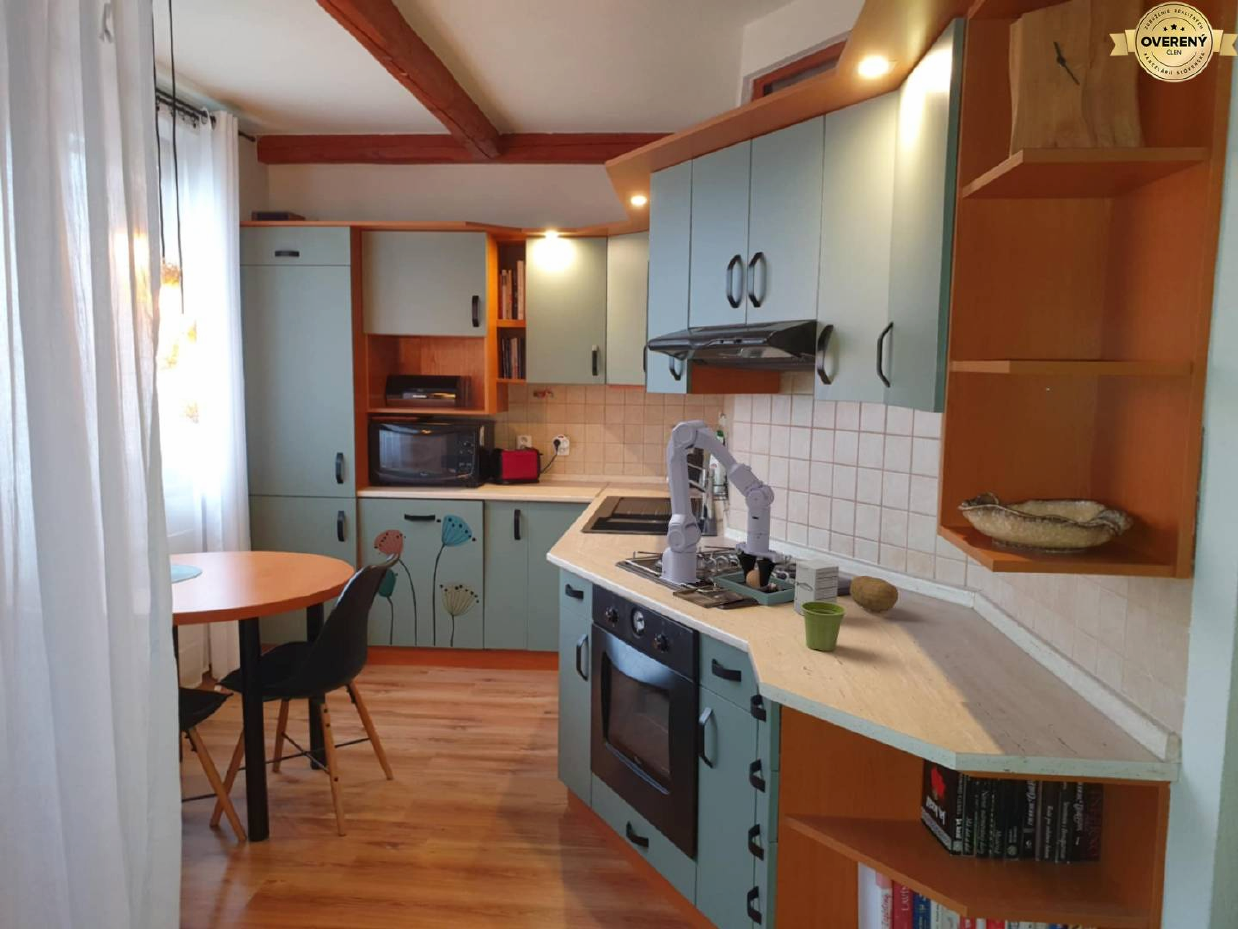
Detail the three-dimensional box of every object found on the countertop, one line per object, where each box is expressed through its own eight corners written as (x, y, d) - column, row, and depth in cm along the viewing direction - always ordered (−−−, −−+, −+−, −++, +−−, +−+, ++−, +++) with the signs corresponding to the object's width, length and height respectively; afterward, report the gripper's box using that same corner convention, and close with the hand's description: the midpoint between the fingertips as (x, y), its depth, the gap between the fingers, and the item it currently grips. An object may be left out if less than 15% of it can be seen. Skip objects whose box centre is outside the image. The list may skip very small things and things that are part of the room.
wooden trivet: (672, 596, 211) (672, 592, 210) (709, 589, 218) (709, 585, 218) (705, 609, 200) (705, 604, 200) (743, 601, 208) (743, 597, 208)
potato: (869, 600, 211) (871, 569, 210) (907, 616, 198) (909, 584, 197) (837, 603, 208) (839, 572, 207) (874, 620, 195) (876, 587, 194)
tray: (712, 587, 219) (713, 576, 219) (750, 580, 227) (751, 569, 227) (766, 607, 203) (767, 595, 203) (805, 598, 211) (806, 587, 211)
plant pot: (826, 637, 183) (828, 599, 181) (853, 651, 174) (855, 612, 173) (790, 641, 179) (792, 603, 178) (815, 656, 170) (817, 616, 169)
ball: (742, 587, 215) (742, 569, 215) (756, 585, 218) (756, 566, 217) (755, 592, 211) (755, 573, 210) (769, 589, 214) (770, 570, 213)
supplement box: (792, 612, 200) (795, 561, 199) (816, 608, 204) (819, 558, 202) (812, 621, 194) (815, 568, 192) (837, 617, 197) (840, 565, 195)
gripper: (727, 528, 216) (725, 579, 218) (767, 539, 204) (765, 592, 206) (747, 526, 220) (745, 575, 222) (787, 536, 209) (785, 588, 210)
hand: (756, 583), depth 214 cm, fingers closed on ball, 5 cm apart
